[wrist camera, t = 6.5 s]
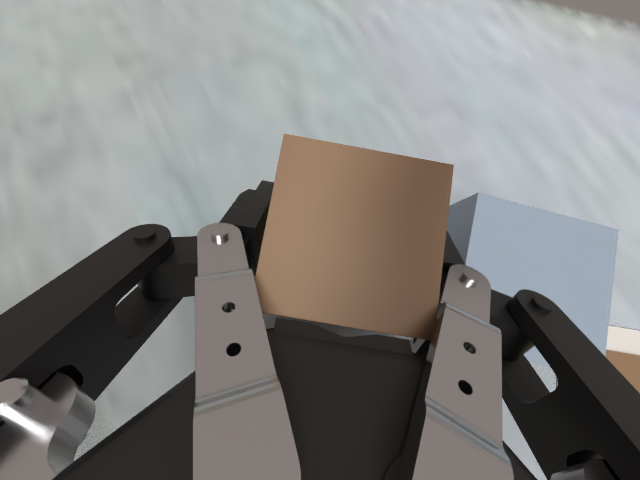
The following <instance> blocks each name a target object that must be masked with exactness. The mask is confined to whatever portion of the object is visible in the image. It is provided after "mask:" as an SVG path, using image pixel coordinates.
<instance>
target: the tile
mask: <svg viewBox="0 0 640 480" xmlns="http://www.w3.org/2000/svg"><path fill="white" fill-rule="evenodd" d="M605 357H606V358H607V359H608V360H609V361H610V362H611V363H612V364H613V365H614V366H615V368H616V369H617V370H618V371H619V372H620V373H621V374H622V375H623V376H624V377H625V378H626V379H627V380H628V381H629V382H630V384H631V385H632V386H633V387H634V388H635V389H636V390H637V391H638V392H639V393H640V331H638V330H632V329H627V328H621V327H615V326H608V336H607V345H606V355H605ZM557 386H558V380H557Z"/></svg>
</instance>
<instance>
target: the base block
mask: <svg viewBox="0 0 640 480" xmlns="http://www.w3.org/2000/svg"><path fill="white" fill-rule="evenodd" d="M447 231H448V233H449V235H450V237H451V238H452V239H451V240H453V242H454V244H455V247H456V248H457V250H458V252H459V254H460V255H461V257H462V259H463V261H464V263H465V265H466V266H469V267H472V268H474V269H476V270H477V271H479V272H480V273H482V274H483V275H484V276H485V277H486V278H487V279H488V281H489V283H490V285H491V289H493V290H495V291H498V292H500V293H503V294H505V295H508V296H510V297H513V296H514V295H515V294H516V293H517V292H518V291H519V290H522V289H527V290H532V291H535V292H538V293H540V294H542V295H544V296H545V297H547V298H549V299H550V300H551V301H553V302H554V303H555V304H556V305H557V306H558V307H559V308H560V309H561V310H562V311H563V312H564V313H565V314H566V315H567V316H568V317H569V318H570V320H571V321H572V322H573V323H574V324H575V325H576V326H577V327H578V328H579V329H580V330H581V331H582V332H583V333H584V334H585V336H586V337H587V338H588V339H589V340H590V341H591V342H592V343H593V344H594V345H595V346H596V347H597V348H598V349H599V350H600V352H601V353H602V354H603V355H604V356H605V355H606V345H607V336H608V326H609V317H610V307H611V297H612V288H613V278H614V269H615V259H616V249H617V240H618V229H614V228H610V227H606V226H602V225H599V224H595V223H591V222H587V221H584V220H580V219H576V218H572V217H568V216H565V215H561V214H557V213H553V212H549V211H546V210H542V209H538V208H534V207H530V206H527V205H523V204H519V203H515V202H512V201H508V200H504V199H500V198H496V197H493V196H489V195H485V194H481V193H477V194H474V195H472V196H470V197H468V198H466V199H464V200H461V201H459V202H457V203H455V204H453V205H450V206H449V212H448V221H447ZM524 356H525V357H526V359H527V360H528V361H529V362H533V363H537V364H541V365H545V366H549V364H548V363H547V362H546V360H545V359H544V358H543V356H542V355H541V354H540V352H539V351H538V349H537V348H536V347H535V346H534V347H533V348H531V349H530V350H529V351H528V352H526V353H525V354H524ZM549 367H550V366H549Z"/></svg>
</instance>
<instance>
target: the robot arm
mask: <svg viewBox="0 0 640 480" xmlns="http://www.w3.org/2000/svg"><path fill="white" fill-rule="evenodd" d="M273 186H274V182H269V181H263V180H262V181H261V183H260V184H259V186H258V187H257V189H256V190H251V189H248V190H246V191H244V192H242V193H241V194H240V195H239V196H238V197H237V199H236V201H235V202H234V203H233V204H232V207H230V209H229V210H228V211H227V213H226V214H225V215H224V217H223V218H222V220H221V221H220V222H219V223H214V224H210V225H208V226H205V227H204V228H202V229H201V230H200V231H199V232H198V235H197V236H192V237H171V233H170V231H169V229H168V228H166V227H165V226H162V225H158V224H145V225H139V226H136V227H133V228H131V229H129V230H127V231H125V232H124V233H122V234H121V235H119V236H118V237H116V238H115V239H113V240H112V241H110V242H109V243H107V244H106V245H104V246H103V247H101V248H100V249H98V250H97V251H95V252H94V253H92V254H91V255H89V256H88V257H86V258H85V259H83V260H82V261H80V262H79V263H77V264H76V265H74V266H73V267H71V268H70V269H68V270H67V271H65V272H64V273H63V274H61V275H60V276H58V277H57V278H55V279H54V280H52V281H51V282H49V283H48V284H46V285H45V286H43V287H42V288H40V289H39V290H37V291H36V292H34V293H33V294H31V295H30V296H28V297H27V298H25V299H24V300H22V301H21V302H19V303H18V304H16V305H15V306H13V307H12V308H10V309H9V310H7V311H6V312H4V313H3V314H1V315H0V480H537V479H536V478H535V477H534V475H533V474H532V473H531V472H530V471H529V470H528V469H527V467H526V466H525V465H524V464H523V463H522V462H521V461H520V460H519V458H518V457H517V456H516V455H515V454H514V453H513V452H512V450H511V449H510V448H509V447H508V446H507V445H506V444H505V442H504V441H503V440H502V398H503V400H504V401H505V403H506V405H507V407H508V409H509V411H510V412H511V414H512V416H513V418H514V420H515V421H516V423H517V425H518V427H519V429H520V431H521V432H522V434H523V436H524V438H525V440H526V442H527V443H528V445H529V447H530V449H531V451H532V452H533V454H534V456H535V458H536V460H537V462H538V463H539V465H540V467H541V469H542V471H543V473H544V474H545V476H546V478H547V480H640V393H639V392H638V391H637V390H636V389H635V388H634V387H633V386H632V385H631V384H630V382H629V381H628V380H627V379H626V378H625V377H624V376H623V375H622V374H621V373H620V372H619V371H618V370H617V369H616V368H615V366H614V365H613V364H612V363H611V362H610V361H609V360H608V359H607V358H606V357H605V356H604V355H603V354H602V353H601V352H600V350H599V349H598V348H597V347H596V346H595V345H594V344H593V343H592V342H591V341H590V340H589V339H588V338H587V337H586V336H585V334H584V333H583V332H582V331H581V330H580V329H579V328H578V327H577V326H576V325H575V324H574V323H573V322H572V321H571V320H570V318H569V317H568V316H567V315H566V314H565V313H564V312H563V311H562V310H561V309H560V308H559V307H558V306H557V305H556V304H555V303H554V302H553V301H551V300H550V299H549V298H547V297H545V296H544V295H542V294H540V293H538V292H535V291H532V290H527V289H522V290H519V291H518V292H517V293H516V294H515V295H514V296H513V297H510V296H508V295H505V294H503V293H500V292H498V291H495V290H493V289H491V285H490V283H489V281H488V279H487V278H486V277H485V276H484V275H483V274H482V273H480V272H479V271H477V270H476V269H474V268H472V267H469V266H466V265H465V263H464V261H463V259H462V257H461V255H460V254H459V252H458V250H457V248H456V247H455V244H454V242H453V240H451V239H452V238H451V237H450V235H449V233H448V231H447V230H446V239H445V248H444V257H443V267H442V276H441V285H440V294H439V303H438V312H437V320H436V322H435V324H434V326H433V328H432V331H431V333H430V335H429V337H430V338H431V341H430V340H424V339H418V338H411V341H410V340H406V339H400V338H394V337H388V336H382V335H368V336H356V337H341V336H339V335H336V334H334V333H331V332H329V331H327V330H324V329H322V328H319V327H317V326H315V325H312V324H310V323H304V322H298V321H292V320H286V319H280V318H277V319H276V323H275V326H274V328H269V329H266V328H265V323H264V319H263V315H262V310H261V306H260V302H259V297H258V293H257V289H256V284H255V280H254V276H256V271H257V266H258V261H259V256H260V251H261V246H262V241H263V236H264V231H265V226H266V221H267V216H268V211H269V206H270V201H271V196H272V191H273ZM136 284H138V287H136V288H135V289H134V290H133V291H132V292H131V293H130V294H129V295H128V296H127V297H126V298H124V299H123V300H122V301H121V302H120V303H119V304H118V305H117V306H116V304H117V303H118V301H119V300H120V299H121V298H122V297H123V296H124V295H125V294H126V293H128V292H129V291H130V290H131V289H132V288H133V287H134V286H135V285H136ZM189 296H195V371H194V372H193V373H192V374H190V375H189V376H188V377H186V378H185V379H184V380H182V381H181V382H180V383H178V384H177V385H176V386H174V387H173V388H172V389H170V390H169V391H168V392H166V393H165V394H164V395H162V396H161V397H160V398H158V399H157V400H156V401H154V402H153V403H152V404H150V405H149V406H148V407H146V408H145V409H144V410H142V411H141V412H140V413H138V414H137V415H136V416H134V417H133V418H132V419H130V420H129V421H128V422H126V423H125V424H124V425H122V426H121V427H120V428H118V429H117V430H116V431H114V432H113V433H112V434H110V435H109V436H108V437H106V438H105V439H104V440H102V441H101V442H100V443H98V444H97V445H96V446H94V447H93V448H92V449H90V450H89V451H88V452H86V453H85V454H84V455H82V456H81V457H80V458H78V459H77V460H76V461H74V457H75V454H76V451H77V448H78V446H79V445H80V444H81V443H82V442H83V441H84V439H85V438H86V435H87V432H88V430H89V429H90V427H91V425H92V423H93V420H94V417H95V412H96V408H95V403H94V401H95V400H96V399H97V398H98V396H99V395H100V394H101V393H102V392H103V391H104V389H105V388H106V387H107V386H108V385H109V384H110V382H111V381H112V380H113V379H114V378H115V376H116V375H117V374H118V373H119V372H120V371H121V369H122V368H123V367H124V366H125V365H126V364H127V362H128V361H129V360H130V359H131V358H132V357H133V355H134V354H135V353H136V352H137V351H138V350H139V348H140V347H141V346H142V345H143V344H144V343H145V341H146V340H147V339H148V338H149V337H150V336H151V334H152V333H153V332H154V331H155V330H156V329H157V327H158V326H159V325H160V324H161V323H162V322H163V320H164V319H165V318H166V317H167V316H168V314H169V313H170V312H171V311H172V310H173V309H174V307H175V306H176V305H177V304H178V303H179V302H180V300H181V299H182V298H183V297H189ZM115 306H116V307H115ZM534 346H535V347H536V348H537V349H538V351H539V352H540V354H541V355H542V356H543V358H544V359H545V360H546V362H547V363H548V364H549V366H550V367H551V368H552V370H553V371H554V373H555V374H556V376H557V380H558V386H557V388H556V390H554V391H553V392H551V393H550V392H549V390H548V389H547V388H546V386H545V385H544V383H543V382H542V380H541V379H540V377H539V376H538V375H537V373H536V372H535V370H534V369H533V367H532V366H531V364H530V363H529V361H528V360H527V359H526V357H525V356H524V354H525V353H526V352H528V351H529V350H530V349H531V348H533V347H534ZM73 461H74V462H73Z"/></svg>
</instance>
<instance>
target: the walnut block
mask: <svg viewBox="0 0 640 480" xmlns="http://www.w3.org/2000/svg"><path fill="white" fill-rule="evenodd" d="M453 166H454V165H451V164H446V163H440V162H435V161H429V160H424V159H419V158H413V157H408V156H402V155H397V154H391V153H386V152H381V151H375V150H370V149H364V148H359V147H353V146H348V145H343V144H337V143H332V142H326V141H321V140H315V139H310V138H305V137H299V136H294V135H288V134H284V137H283V141H282V146H281V151H280V156H279V161H278V166H277V171H276V176H275V181H274V186H273V191H272V196H271V201H270V206H269V211H268V216H267V221H266V226H265V231H264V236H263V241H262V246H261V251H260V256H259V261H258V266H257V271H256V276H255V284H256V289H257V293H258V297H259V302H260V306H261V310H262V312H263V313H269V314H274V315H280V316H286V317H292V318H298V319H304V320H310V321H316V322H322V323H328V324H334V325H340V326H346V327H352V328H358V329H364V330H370V331H376V332H382V333H388V334H394V335H400V336H406V337H412V338H418V339H424V340H430V341H431V338H430V337H429V335H430V333H431V331H432V328H433V326H434V324H435V322H436V320H437V312H438V303H439V294H440V285H441V276H442V267H443V257H444V248H445V239H446V230H447V221H448V212H449V203H450V194H451V185H452V176H453Z"/></svg>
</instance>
